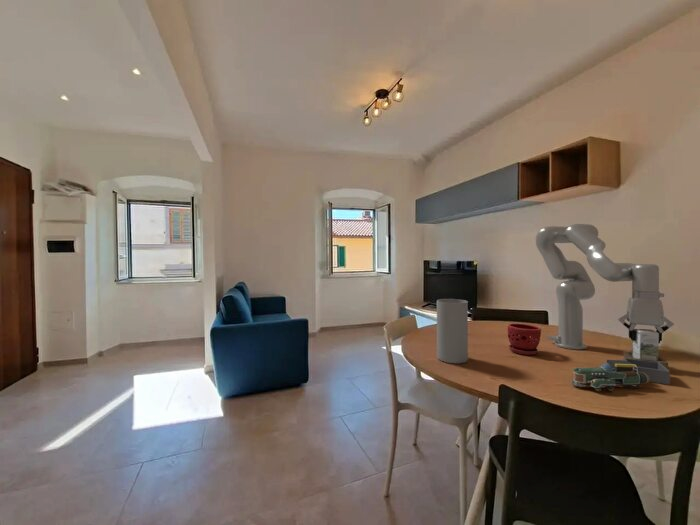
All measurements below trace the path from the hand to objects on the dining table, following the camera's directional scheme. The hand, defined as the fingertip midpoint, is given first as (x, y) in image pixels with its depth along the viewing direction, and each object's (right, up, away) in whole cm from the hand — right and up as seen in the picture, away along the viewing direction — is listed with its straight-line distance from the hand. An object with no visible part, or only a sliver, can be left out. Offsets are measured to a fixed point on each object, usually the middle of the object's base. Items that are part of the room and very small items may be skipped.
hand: (644, 340), depth 118 cm
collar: (0, -10, 0) cm, 10 cm away
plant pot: (-36, -10, +20) cm, 42 cm away
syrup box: (0, -10, 0) cm, 10 cm away
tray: (-9, -10, -9) cm, 17 cm away
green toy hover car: (-28, -11, -17) cm, 35 cm away
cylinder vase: (-72, -11, +11) cm, 73 cm away
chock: (-20, -11, -11) cm, 25 cm away
